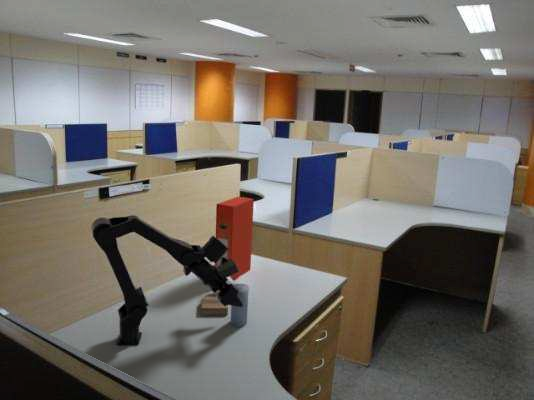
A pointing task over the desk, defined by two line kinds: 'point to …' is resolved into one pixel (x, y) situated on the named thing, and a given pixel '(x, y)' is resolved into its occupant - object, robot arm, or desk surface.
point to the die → (227, 283)
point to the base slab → (213, 306)
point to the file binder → (236, 231)
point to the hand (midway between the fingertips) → (237, 299)
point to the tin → (240, 312)
